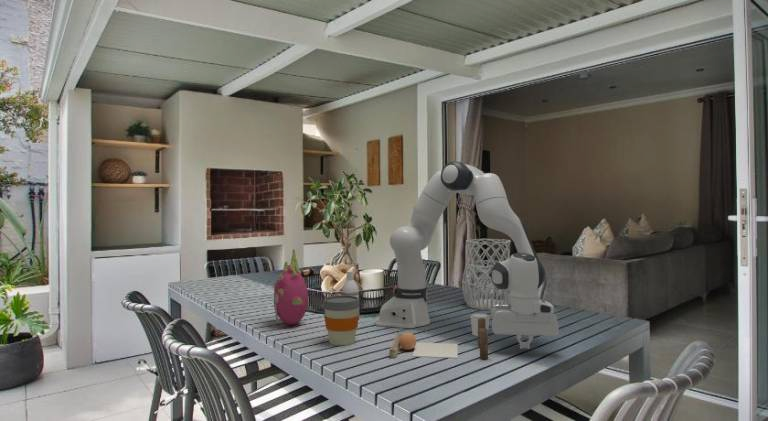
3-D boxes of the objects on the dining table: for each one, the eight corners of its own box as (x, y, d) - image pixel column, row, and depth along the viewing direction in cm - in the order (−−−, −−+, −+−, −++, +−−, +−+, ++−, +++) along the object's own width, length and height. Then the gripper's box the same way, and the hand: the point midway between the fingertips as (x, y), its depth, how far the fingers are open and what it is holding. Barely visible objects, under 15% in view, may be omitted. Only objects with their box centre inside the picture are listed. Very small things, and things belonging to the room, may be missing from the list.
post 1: (478, 346, 157) (478, 320, 157) (477, 344, 160) (477, 318, 160) (485, 347, 157) (485, 320, 157) (485, 344, 160) (485, 318, 159)
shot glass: (478, 338, 167) (478, 318, 167) (466, 333, 174) (466, 314, 173) (493, 335, 171) (493, 316, 170) (481, 330, 177) (481, 312, 177)
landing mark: (412, 356, 149) (412, 355, 149) (416, 343, 163) (416, 342, 163) (457, 358, 147) (457, 357, 147) (457, 344, 160) (457, 343, 160)
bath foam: (340, 318, 199) (339, 270, 198) (355, 316, 202) (355, 269, 201) (345, 321, 192) (344, 272, 192) (361, 320, 195) (360, 271, 195)
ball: (414, 353, 153) (397, 350, 154) (415, 347, 158) (399, 345, 159) (416, 337, 152) (399, 334, 153) (417, 331, 158) (401, 329, 159)
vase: (452, 303, 224) (451, 239, 224) (493, 297, 235) (492, 237, 234) (483, 313, 202) (482, 243, 202) (527, 307, 213) (526, 240, 212)
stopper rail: (389, 357, 148) (389, 349, 148) (397, 340, 166) (396, 333, 166) (395, 358, 148) (395, 350, 148) (402, 340, 165) (402, 333, 165)
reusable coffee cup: (341, 334, 175) (341, 293, 174) (367, 340, 167) (366, 298, 166) (316, 342, 165) (315, 299, 165) (342, 349, 157) (341, 304, 157)
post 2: (479, 359, 145) (479, 330, 145) (479, 356, 148) (479, 328, 147) (488, 359, 145) (487, 330, 144) (487, 357, 147) (487, 328, 147)
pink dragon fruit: (268, 321, 194) (267, 248, 194) (300, 317, 201) (299, 246, 200) (280, 332, 179) (278, 252, 178) (314, 327, 185) (313, 250, 184)
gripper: (491, 306, 148) (491, 350, 149) (559, 307, 145) (559, 352, 146) (490, 302, 155) (490, 344, 155) (555, 303, 151) (555, 346, 152)
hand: (524, 348), depth 150 cm, fingers closed
